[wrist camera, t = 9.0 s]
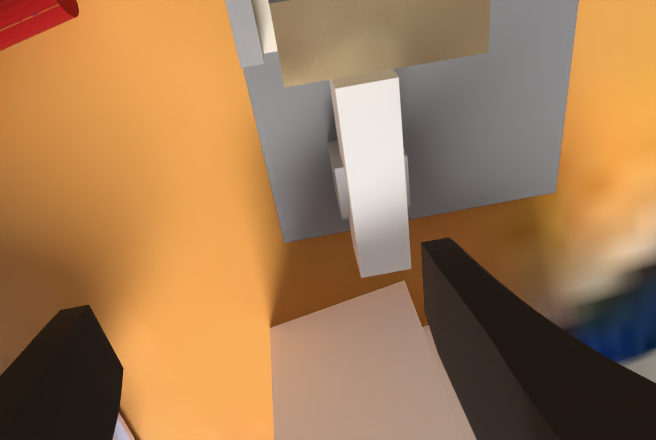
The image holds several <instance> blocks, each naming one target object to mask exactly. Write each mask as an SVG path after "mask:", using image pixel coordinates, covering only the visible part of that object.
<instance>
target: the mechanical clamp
mask: <svg viewBox="0 0 656 440" xmlns="http://www.w3.org/2000/svg"><path fill="white" fill-rule="evenodd" d="M78 14H79V8H78V4H77V1H76V0H0V50H3V49H5V48H7V47H10V46H12V45H14V44H16V43H19V42H21V41H23V40H25V39H28V38H30V37H32V36H34V35H37V34H39V33H41V32H43V31H46V30H48V29H50V28H52V27H55V26H57V25H59V24H61V23H64V22H66V21H68V20H70V19H73V18H75V17H77V16H78Z"/></svg>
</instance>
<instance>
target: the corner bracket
mask: <svg viewBox="0 0 656 440" xmlns="http://www.w3.org/2000/svg"><path fill="white" fill-rule="evenodd" d="M270 347H271V371H272V396H273V421H274V440H476V437H475V435H474V433H473V431H472V428H471V426H470V424H469V422H468V420H467V417H466V415H465V413H464V411H463V408H462V406H461V404H460V402H459V400H458V397H457V395H456V393H455V391H454V388H453V386H452V384H451V382H450V379H449V377H448V375H447V373H446V370H445V368H444V366H443V364H442V361H441V359H440V357H439V355H438V352H437V349H436V346H435V343H434V340H433V337H432V334H431V330H430V327H429V325H427V326H424V327H422V325H421V323H420V320H419V317H418V315H417V312H416V309H415V307H414V304H413V301H412V299H411V296H410V293H409V291H408V288H407V285H406V283H405V280H403V281H401V282H398V283H395V284H392V285H389V286H387V287H384V288H381V289H378V290H375V291H373V292H370V293H367V294H364V295H361V296H358V297H356V298H353V299H350V300H347V301H344V302H342V303H339V304H336V305H333V306H330V307H327V308H325V309H322V310H319V311H316V312H313V313H311V314H308V315H305V316H302V317H299V318H297V319H294V320H291V321H288V322H285V323H282V324H280V325H277V326H274V327H271V328H270Z"/></svg>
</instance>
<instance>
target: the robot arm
mask: <svg viewBox="0 0 656 440" xmlns="http://www.w3.org/2000/svg"><path fill="white" fill-rule="evenodd" d="M421 251H422V270H423V289H424V308H425V314H426V317H427V321H428V324H429V327H430V330H431V334H432V337H433V340H434V343H435V346H436V349H437V352H438V355H439V357H440V359H441V361H442V364H443V366H444V368H445V370H446V373H447V375H448V377H449V379H450V382H451V384H452V386H453V388H454V391H455V393H456V395H457V397H458V400H459V402H460V404H461V406H462V408H463V411H464V413H465V415H466V417H467V420H468V422H469V424H470V426H471V428H472V431H473V433H474V435H475V437H476V440H656V383H654V382H652V381H650V380H649V379H647V378H645V377H643V376H641V375H639V374H637V373H635V372H633V371H631V370H629V369H627V368H625V367H623V366H622V365H620V364H618V363H616V362H614V361H613V360H611V359H609V358H607V357H606V356H604V355H602V354H600V353H599V352H597V351H595V350H594V349H592V348H591V347H589V346H587V345H586V344H584V343H582V342H581V341H579V340H577V339H576V338H574V337H573V336H571V335H570V334H568V333H567V332H565V331H564V330H562V329H561V328H559V327H558V326H557V325H555V324H554V323H552V322H551V321H550V320H548V319H547V318H545V317H544V316H543V315H541V314H540V313H538V312H537V311H536V310H534V309H533V308H532V307H530V306H529V305H528V304H526V303H525V302H524V301H522V300H521V299H520V298H519V297H518V296H516V295H515V294H514V293H513V292H511V291H510V290H509V289H508V288H506V287H505V286H504V285H503V284H501V283H500V282H499V281H498V280H497V279H495V278H494V277H493V276H492V275H491V274H490V273H488V272H487V271H486V270H485V269H484V268H483V267H482V266H480V265H479V264H478V263H477V262H476V261H475V260H474V259H473V258H472V257H470V256H469V255H468V254H467V253H466V252H465V251H464V250H463V249H462V248H461V247H460V246H459V245H458V244H456V243H455V242H454V241H453V240H452V239H450V238H444V239H438V240H433V241H428V242H422V243H421ZM122 379H123V367H122V365H121V363H120V361H119V359H118V357H117V356H116V354H115V352H114V350H113V348H112V346H111V344H110V343H109V341H108V339H107V337H106V335H105V333H104V332H103V330H102V328H101V326H100V324H99V322H98V321H97V319H96V317H95V315H94V313H93V311H92V309H91V308H90V306H89V305H85V306H80V307H75V308H69V309H64V310H60V311H59V312H58V313H57V314H56V315H55V316H54V317H53V318H52V319H51V320H50V322H49V323H48V324H47V325H46V326H45V327H44V328H43V329H42V330H41V331H40V333H39V334H38V335H37V336H36V337H35V338H34V339H33V340H32V341H31V343H30V344H29V345H28V346H27V347H26V348H25V349H24V350H23V352H22V353H21V354H20V355H19V356H18V357H17V358H16V359H15V361H14V362H13V363H12V364H11V365H10V366H9V367H8V368H7V369H6V371H5V372H4V373H3V374H2V375H1V376H0V440H135V439H134V437H133V435H132V434H131V432H130V430H129V429H128V427H127V425H126V423H125V422H124V420H123V418H122V417H121V415H120V413H119V407H120V399H121V390H122Z"/></svg>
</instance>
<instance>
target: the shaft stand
mask: <svg viewBox="0 0 656 440" xmlns="http://www.w3.org/2000/svg"><path fill="white" fill-rule="evenodd" d="M225 2H226V6H227V11H228V15H229V19H230V23H231V27H232V32H233V36H234V40H235V44H236V48H237V53H238V57H239V61H240V65H241V68H243V70H244V75H245V79H246V83H247V87H248V92H249V96H250V100H251V104H252V109H253V113H254V117H255V121H256V125H257V130H258V134H259V138H260V142H261V147H262V151H263V155H264V159H265V164H266V168H267V172H268V176H269V181H270V185H271V189H272V193H273V198H274V202H275V206H276V210H277V214H278V219H279V223H280V227H281V231H282V236H283V240H284V243H287V242H292V241H297V240H303V239H308V238H314V237H319V236H324V235H330V234H335V233H340V232H346V231H351V235H352V242H353V249H354V252H355V256H356V260H357V264H358V267H359V271H360V275H361V278H365V277H370V276H375V275H381V274H386V273H391V272H397V271H402V270H407V269H411V254H410V239H409V224H408V220H410V219H416V218H421V217H427V216H432V215H437V214H443V213H448V212H453V211H459V210H464V209H470V208H475V207H480V206H486V205H491V204H496V203H502V202H507V201H513V200H518V199H523V198H529V197H534V196H539V195H545V194H550V193H556V186H557V177H558V169H559V161H560V152H561V144H562V136H563V127H564V119H565V111H566V103H567V94H568V86H569V78H570V69H571V61H572V53H573V44H574V36H575V28H576V19H577V11H578V3H579V0H491V5H490V30H489V53H484V54H478V55H472V56H466V57H461V58H455V59H449V60H443V61H437V62H431V63H425V64H420V65H414V66H408V67H402V68H396V69H390V70H384V71H378V72H373V73H367V74H361V75H355V76H349V77H343V78H337V79H332V80H326V81H320V82H314V83H308V84H302V85H296V86H290V87H285V88H284V83H283V77H282V72H281V66H280V61H279V55H278V50H277V45H276V39H275V34H274V28H273V23H272V18H271V12H270V7H269V3H268V0H225Z"/></svg>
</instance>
